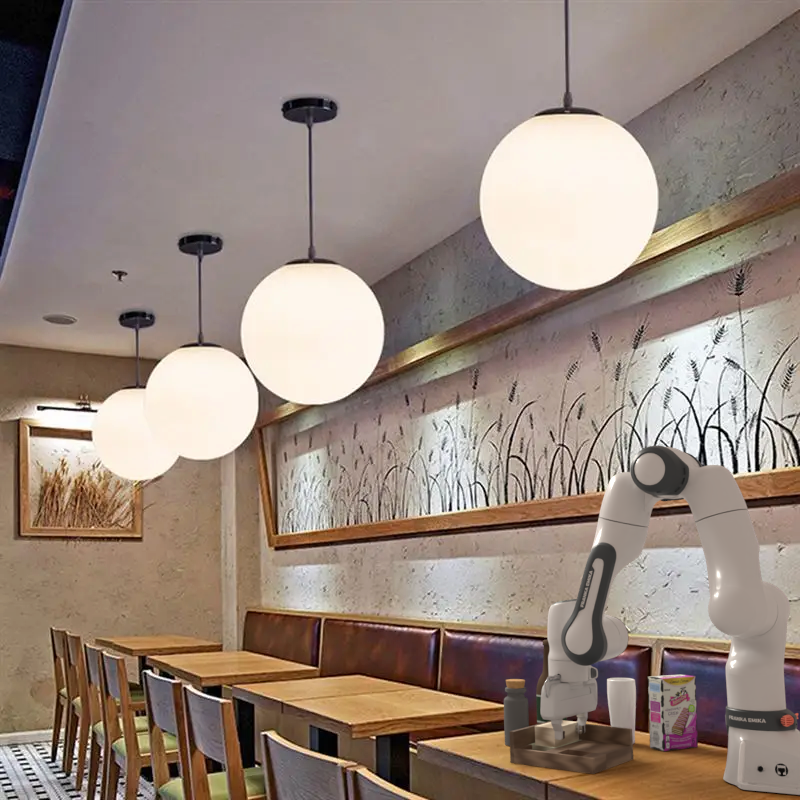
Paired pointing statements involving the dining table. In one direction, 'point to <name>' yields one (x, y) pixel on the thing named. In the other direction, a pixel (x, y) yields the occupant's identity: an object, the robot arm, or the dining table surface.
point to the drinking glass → (622, 703)
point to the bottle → (515, 707)
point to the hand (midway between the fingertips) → (570, 736)
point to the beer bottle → (542, 681)
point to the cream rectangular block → (547, 734)
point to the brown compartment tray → (575, 749)
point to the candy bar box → (672, 712)
